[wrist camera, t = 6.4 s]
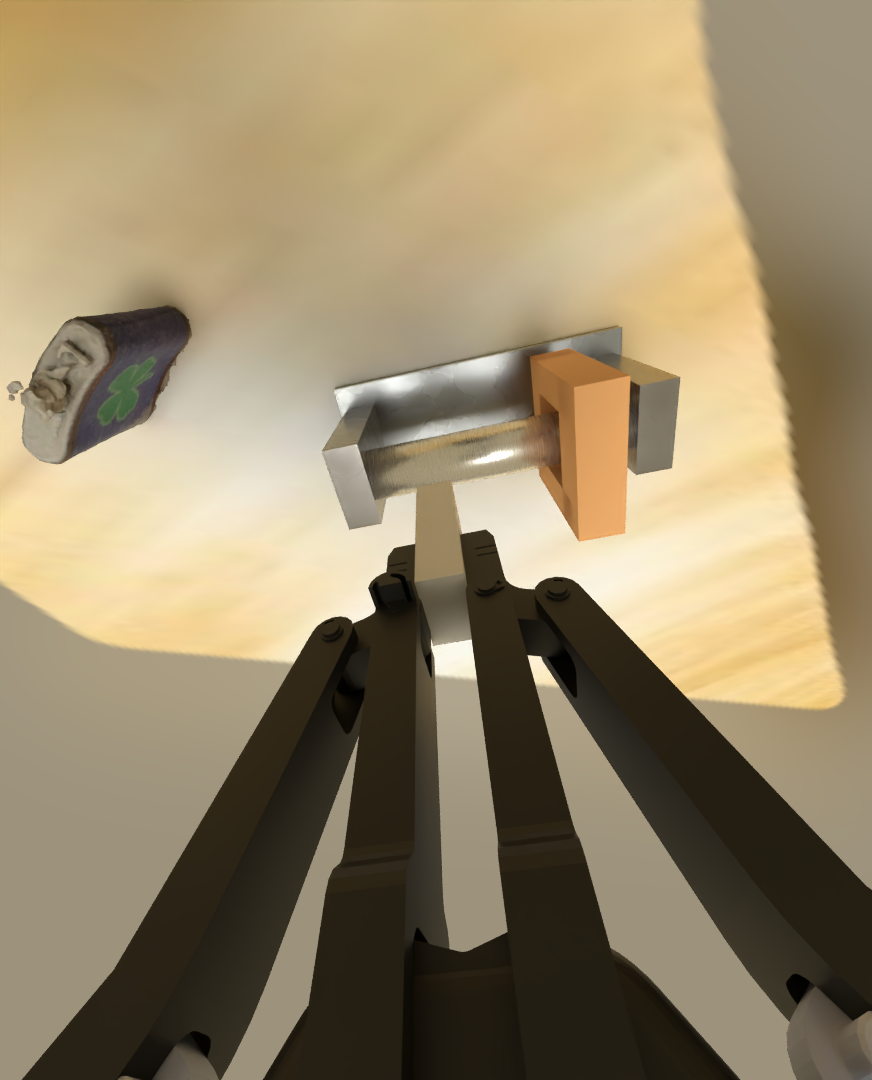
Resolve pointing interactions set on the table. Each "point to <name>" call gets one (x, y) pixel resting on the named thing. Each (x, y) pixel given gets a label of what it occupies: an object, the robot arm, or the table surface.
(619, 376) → the orange square ring
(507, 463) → the pipe rail
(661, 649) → the table surface
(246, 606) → the table surface
